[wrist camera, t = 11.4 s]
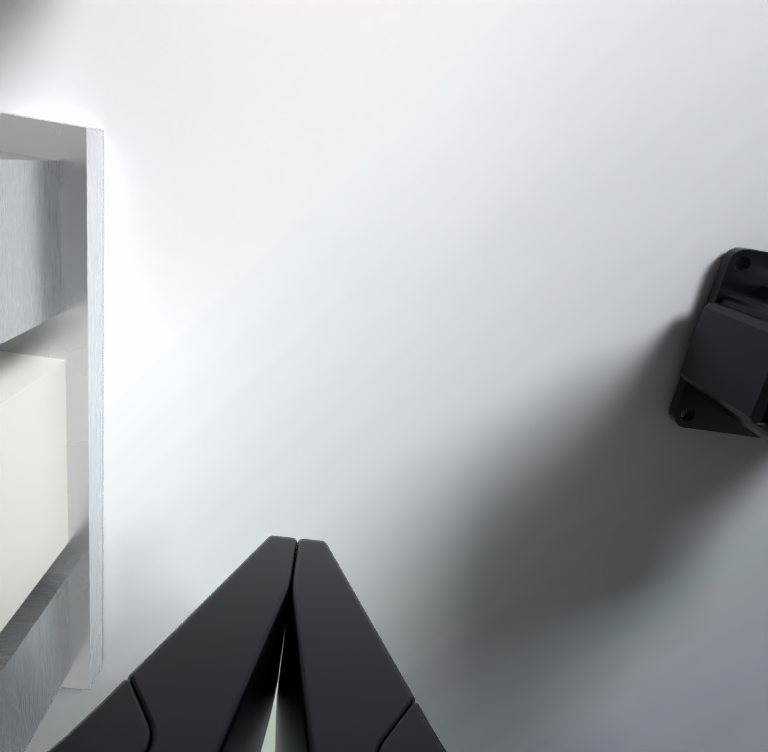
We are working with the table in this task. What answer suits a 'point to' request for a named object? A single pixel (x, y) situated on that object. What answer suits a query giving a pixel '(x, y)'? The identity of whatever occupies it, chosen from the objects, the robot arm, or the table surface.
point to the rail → (83, 397)
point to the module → (31, 474)
